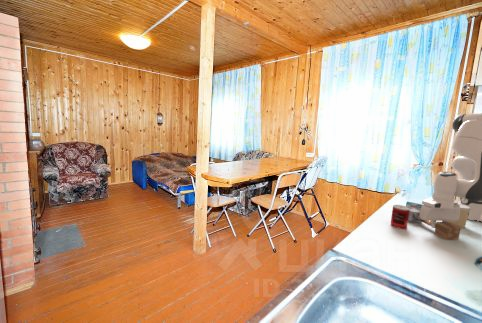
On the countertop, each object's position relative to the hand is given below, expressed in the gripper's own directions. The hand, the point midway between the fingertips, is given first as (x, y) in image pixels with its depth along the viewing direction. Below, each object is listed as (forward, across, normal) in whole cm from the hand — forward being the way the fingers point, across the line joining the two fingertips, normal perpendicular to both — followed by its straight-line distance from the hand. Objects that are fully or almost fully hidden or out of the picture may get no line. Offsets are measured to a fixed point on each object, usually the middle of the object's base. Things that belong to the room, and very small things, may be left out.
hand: (437, 227), depth 121 cm
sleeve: (+3, 0, -16) cm, 16 cm away
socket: (+3, 0, +5) cm, 6 cm away
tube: (+1, 0, -3) cm, 3 cm away
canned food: (+3, +15, -8) cm, 17 cm away
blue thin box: (+3, -15, -29) cm, 32 cm away
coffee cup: (+3, -21, -9) cm, 23 cm away
